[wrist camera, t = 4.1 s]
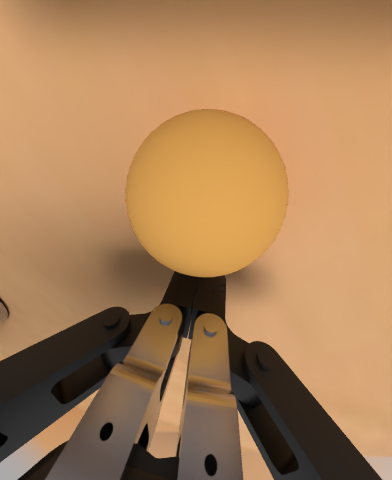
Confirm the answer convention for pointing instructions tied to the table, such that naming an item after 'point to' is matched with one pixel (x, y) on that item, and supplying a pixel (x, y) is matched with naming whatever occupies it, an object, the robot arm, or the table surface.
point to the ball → (207, 193)
